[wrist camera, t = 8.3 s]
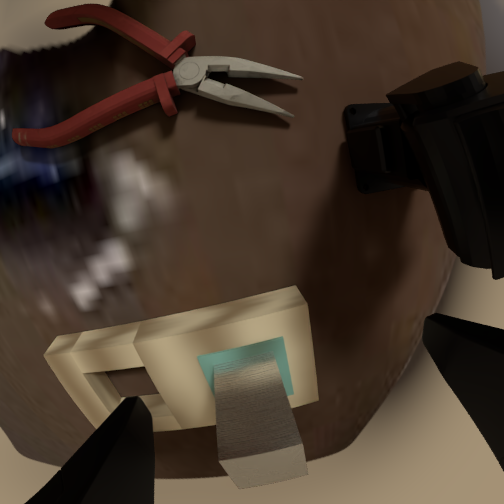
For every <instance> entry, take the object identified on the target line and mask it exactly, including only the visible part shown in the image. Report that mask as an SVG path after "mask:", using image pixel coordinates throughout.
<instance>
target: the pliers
mask: <svg viewBox="0 0 504 504" xmlns="http://www.w3.org/2000/svg"><path fill="white" fill-rule="evenodd" d="M96 24H97V25H101V26H104V27H106V28H108V29H110V30H112V31H114V32H115V33H117V34H119V35H120V36H122V37H124V38H125V39H127V40H128V41H130V42H132V43H133V44H135V45H136V46H138V47H139V48H141V49H142V50H144V51H146V52H147V53H149V54H150V55H152V56H153V57H155V58H156V59H158V60H159V61H160V62H162V63H163V64H165V65H166V66H168V67H169V68H171V69H172V70H174V71H173V72H172V70H171V71H169V72H166V73H161V74H159V75H156V76H154V77H153V78H150V79H148V80H145V81H143V82H141V83H138V84H136V85H134V86H131V87H129V88H127V89H125V90H123V91H120V92H118V93H116V94H114V95H112V96H110V97H108V98H106V99H104V100H102V101H100V102H98V103H96V104H94V105H92V106H91V107H89V108H87V109H85V110H83V111H81V112H80V113H78V114H76V115H74V116H73V117H71V118H69V119H67V120H65V121H63V122H61V123H59V124H57V125H54V126H51V127H47V128H42V129H25V128H15V129H13V131H12V138H13V140H14V141H15V142H16V143H17V144H19V145H21V146H31V147H42V148H56V147H61V146H64V145H67V144H70V143H72V142H75V141H77V140H79V139H81V138H84V137H85V136H87V135H89V134H91V133H93V132H95V131H97V130H99V129H101V128H103V127H105V126H107V125H109V124H111V123H113V122H115V121H117V120H119V119H121V118H123V117H125V116H128V115H130V114H132V113H134V112H137V111H139V110H141V109H144V108H146V107H148V106H151V105H153V104H156V103H158V102H161V105H162V107H163V110H164V112H165V113H166V114H167V115H168V116H172V115H174V114H177V113H178V112H177V108H176V105H175V102H174V99H173V97H175V96H177V95H180V91H179V89H180V88H181V89H182V90H185V91H188V92H191V93H194V94H197V95H200V96H203V97H206V98H209V99H212V100H215V101H218V102H221V103H224V104H227V105H232V106H238V107H244V108H249V109H255V110H260V111H265V112H270V113H274V114H279V115H283V116H288V117H292V118H293V117H294V115H293V114H291V113H289V112H287V111H285V110H283V109H281V108H279V107H277V106H275V105H273V104H271V103H269V102H267V101H265V100H263V99H261V98H259V97H257V96H255V95H253V94H251V93H248V92H246V91H244V90H242V89H239V88H237V87H234V86H232V85H229V84H227V83H226V85H225V84H222V83H220V82H217V81H214V80H211V79H209V78H206V74H207V77H208V76H209V74H210V72H211V71H225V72H226V73H227V74H228V77H241V78H278V79H295V80H302V79H303V77H301V76H298V75H295V74H292V73H289V72H286V71H283V70H280V69H276V68H273V67H270V66H266V65H263V64H259V63H256V62H252V61H248V60H245V59H241V58H234V57H219V56H202V57H189V55H188V53H187V52H188V51H189V50H191V49H192V48H193V47H194V46H195V45H196V41H195V36H194V35H193V34H191V33H190V32H188V31H183V32H181V33H180V34H179V35H178V36H177V37H176V38H175V39H174V40H172V41H169V40H168V39H166V38H164V37H163V36H161V35H160V34H158V33H156V32H155V31H153V30H152V29H150V28H148V27H147V26H145V25H143V24H141V23H140V22H138V21H136V20H135V19H133V18H131V17H129V16H127V15H126V14H124V13H122V12H120V11H118V10H116V9H114V8H111V7H108V6H104V5H100V4H84V5H78V6H74V7H69V8H65V9H60V10H57V11H55V12H53V13H51V14H50V15H49V16H48V17H47V19H46V21H45V25H46V26H47V27H49V28H51V29H56V30H62V29H69V28H74V27H80V26H89V25H91V26H95V25H96Z"/></svg>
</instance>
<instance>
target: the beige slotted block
mask: <svg viewBox="0 0 504 504" xmlns="http://www.w3.org/2000/svg"><path fill="white" fill-rule="evenodd" d="M271 351H273V353H274V356H275V360H276V363H277V366H278V369H279V372H280V375H281V378H282V381H283V385H284V388H285V391H286V394H287V397H288V400H289V403H290V406H291V408H294V407H298V406H301V405H305V404H308V403H311V402H315V401H318V400H319V398H318V388H317V378H316V369H315V360H314V351H313V343H312V335H311V327H310V319H309V311H308V304H307V302H306V301H305V299H304V298H303V296H302V294H301V293H300V291H299V290H298V288H297V287H296V285H294V286H290V287H287V288H283V289H279V290H275V291H271V292H267V293H263V294H259V295H255V296H251V297H247V298H243V299H239V300H235V301H231V302H226V303H222V304H218V305H214V306H209V307H205V308H200V309H196V310H191V311H187V312H182V313H178V314H173V315H168V316H164V317H159V318H154V319H149V320H144V321H139V322H134V323H129V324H124V325H119V326H113V327H108V328H102V329H97V330H91V331H85V332H79V333H74V334H67V335H61V336H57V337H56V338H55V340H54V341H53V343H52V344H51V345H50V347H49V348H48V350H47V351H46V353H45V354H44V355H43V356H44V357H45V359H46V361H47V362H48V364H49V365H50V367H51V369H52V370H53V372H54V373H55V375H56V376H57V378H58V379H59V381H60V382H61V384H62V385H63V386H64V388H65V389H66V391H67V392H68V394H69V395H70V396H71V398H72V399H73V400H74V402H75V403H76V404H77V406H78V407H79V408H80V410H81V411H82V412H83V413H84V415H85V416H86V417H87V418H88V420H89V421H90V422H91V423H92V424H93V426H94V427H95V428H96V429H97V428H98V427H99V426H100V425H101V424H102V423H103V422H104V421H105V420H106V418H107V417H108V416H109V415H110V414H111V413H112V412H113V411H114V410H115V409H116V407H117V406H118V405H119V404H120V403H121V402H122V401H123V400H124V399H125V398H126V397H123V398H121V396H120V395H119V393H118V392H117V390H116V389H115V387H114V385H113V384H112V382H111V381H110V379H109V378H108V376H107V374H106V373H105V371H110V370H119V369H127V368H134V367H141V366H145V368H146V370H147V372H148V374H149V376H150V377H151V379H152V381H153V383H154V384H155V386H156V388H157V390H158V391H159V393H160V394H153V395H144V396H139V397H140V398H141V399H142V400H143V402H144V403H145V405H146V406H147V408H148V409H149V411H150V412H151V415H152V419H153V432H159V431H170V430H180V429H189V428H197V427H204V426H211V425H216V410H215V388H214V365H215V364H220V363H225V362H229V361H234V360H238V359H243V358H247V357H251V356H255V355H260V354H264V353H267V352H271Z"/></svg>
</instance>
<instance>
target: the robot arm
mask: <svg viewBox="0 0 504 504" xmlns="http://www.w3.org/2000/svg"><path fill="white" fill-rule="evenodd" d="M386 96H387V98H388V100H389V102H390V103H371V104H351V105H348V106H346V107H345V109H344V113H345V118H346V123H347V128H348V132H347V139H348V144H349V150H350V156H351V162H352V167H353V168H354V169H355V174H356V181H357V188H358V190H359V192H361V193H364V194H369V193H374V192H379V191H384V190H389V189H395V188H400V187H405V186H406V187H411V188H416V189H421V190H425V191H429V193H430V196H431V199H432V201H433V204H434V207H435V210H436V213H437V216H438V219H439V222H440V225H441V228H442V231H443V235H444V238H445V240H446V243H447V245H448V248H449V249H451V250H452V251H453V252H454V253H455V254H456V255H457V256H459V257H460V260H461V262H462V263H464V264H467V265H469V266H472V267H477V268H485V269H492V278H493V279H495V280H497V279H500V278H503V277H504V71H502V72H498V73H493V74H489V75H484V76H482V74H481V72H480V70H479V68H478V67H476V66H473V65H470V64H466V63H463V62H455V63H452V64H448V65H445V66H442V67H439V68H436V69H433V70H431V71H429V72H427V73H425V74H423V75H421V76H419V77H417V78H415V79H413V80H412V81H410V82H408V83H406V84H404V85H402V86H400V87H399V88H397V89H395V90H393V91H391V92H390V93H388V94H386ZM350 109H352V110H353V111H354V114H351V113H350ZM364 184H366V189H365V190H364V189H363V185H364ZM422 340H423V343H424V345H425V347H426V349H427V350H428V352H429V354H430V355H431V357H432V359H433V360H434V362H435V364H436V366H437V368H438V369H439V371H440V373H441V374H442V376H443V378H444V379H445V381H446V382H447V384H448V385H449V386H450V388H451V389H452V391H453V392H454V393H455V395H456V396H457V398H458V399H459V400H460V402H461V403H462V405H463V406H464V408H465V409H466V411H467V412H468V414H469V415H470V417H471V418H472V420H473V421H474V423H475V424H476V426H477V428H478V429H479V431H480V432H481V434H482V435H483V437H484V438H485V440H486V442H487V443H488V445H489V447H490V448H491V450H492V452H493V453H494V455H495V457H496V459H497V460H498V462H499V464H500V466H501V468H502V469H503V471H504V330H503V329H500V328H495V327H491V326H487V325H483V324H479V323H475V322H471V321H467V320H463V319H459V318H455V317H451V316H447V315H443V314H439V313H434V314H432V315H430V316H427V317H426V318H425V321H424V328H423V335H422ZM154 477H155V452H154V437H153V419H152V415H151V412H150V411H149V409H148V408H147V406H146V405H145V403H144V402H143V400H142V399H141V398H140V397H139V396H129V397H126V398H125V399H124V400H123V401H122V402H121V403H120V404H119V405H118V406H117V407H116V409H115V410H114V411H113V412H112V413H111V414H110V415H109V416H108V417H107V418H106V420H105V421H104V422H103V423H102V424H101V425H100V426H99V427H98V428H97V429H96V431H95V432H94V433H93V434H92V435H91V436H90V437H89V438H88V439H87V440H86V442H85V443H84V444H83V445H82V446H81V447H80V448H79V449H78V450H77V451H76V452H75V454H74V455H73V456H72V457H71V458H70V459H69V460H68V461H67V462H66V463H65V464H64V466H63V467H62V468H61V470H59V471H58V472H57V473H56V474H55V475H54V476H53V477H52V478H51V480H50V481H49V482H48V483H47V484H46V485H45V486H44V487H43V488H41V489H40V490H39V491H38V492H37V493H36V494H35V495H34V496H33V497H32V498H30V499H29V500H28V501H27V502H26V503H25V504H154Z"/></svg>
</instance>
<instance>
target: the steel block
mask: <svg viewBox="0 0 504 504" xmlns="http://www.w3.org/2000/svg"><path fill="white" fill-rule="evenodd" d="M214 388H215V410H216V429H217V445H218V460H219V462H220V464H221V465H222V467H223V468H224V469H225V471H226V472H227V474H228V475H229V476H230V478H231V479H232V480H233V482H234V483H235V484H236V486H237V487H238V488H239V489H244V488H250V487H255V486H261V485H266V484H271V483H276V482H281V481H285V480H289V479H293V478H297V477H301V476H304V475H308V471H307V465H306V459H305V454H304V448H303V443H302V440H301V437H300V434H299V431H298V428H297V425H296V422H295V419H294V416H293V412H292V409H291V406H290V403H289V400H288V397H287V394H286V391H285V388H284V385H283V381H282V378H281V375H280V372H279V369H278V366H277V363H276V360H275V356H274V353H273V351H271V352H267V353H264V354H260V355H255V356H251V357H247V358H243V359H238V360H234V361H229V362H225V363H220V364H215V365H214Z"/></svg>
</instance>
